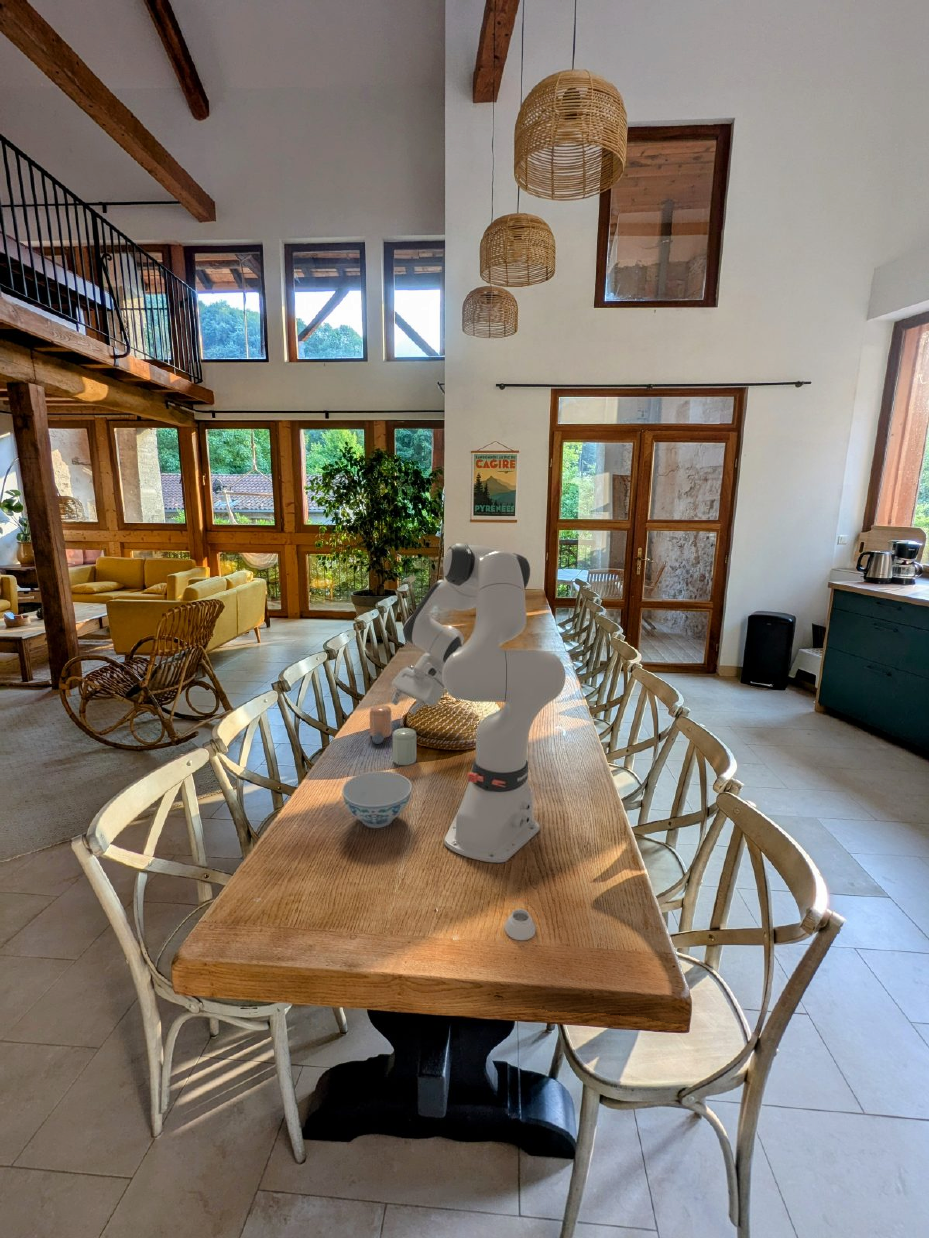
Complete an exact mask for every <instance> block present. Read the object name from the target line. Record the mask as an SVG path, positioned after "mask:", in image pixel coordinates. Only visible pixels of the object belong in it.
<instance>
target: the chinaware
mask: <svg viewBox="0 0 929 1238" xmlns="http://www.w3.org/2000/svg"><path fill="white" fill-rule="evenodd" d="M412 789H413V787H412V782H411V781H410V780H409V779H408V778H407V777H406V776H403V774H399V773H397V772H393V771H383V770H382V771H370V772H365V773H361V774H358V775H355V776H354V777H351V778H350V779H349V780H347V781H346V782H345V783H344V784H343V786H342V790H341V793H342V798H343V801H344V804H345V806H346V808H347V810H348V811H349V813H350V814H352V816H353V817H355V819H357V820H359V821H361V822H362V824H363V825H365V826H366V827H368V828H373V829H379V828H384V827H386V826H389V825H390V824H391V823H393V821H394V819H395V818H397V817H398V816H399V815H400V814H402V812H404V810H405V808H406V806H407V804H408V803H409V801H410V798H411V796H412V795H411V793H412Z"/></svg>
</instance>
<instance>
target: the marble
mask: <svg viewBox="0 0 929 1238" xmlns="http://www.w3.org/2000/svg"><path fill="white" fill-rule="evenodd" d="M371 738H372V739H371V740H372V742H373V743H374V744H376V745H380V744H382V743H383V742H384V739H385V738H383V735H382V734H381V733H375V734H374V735H373V737H372V736H371Z"/></svg>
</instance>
